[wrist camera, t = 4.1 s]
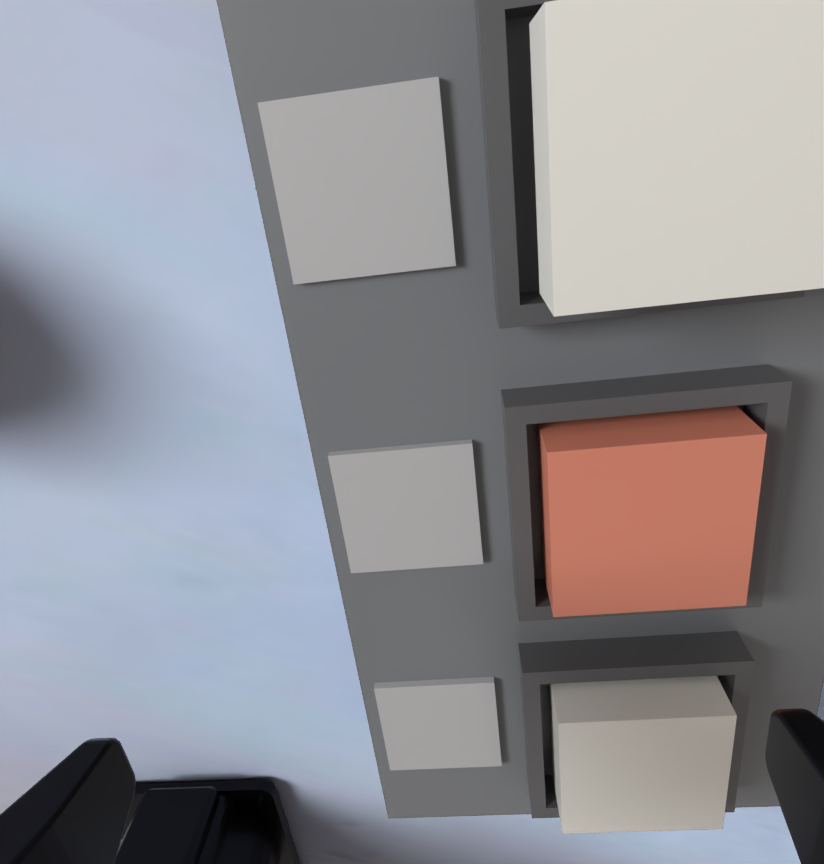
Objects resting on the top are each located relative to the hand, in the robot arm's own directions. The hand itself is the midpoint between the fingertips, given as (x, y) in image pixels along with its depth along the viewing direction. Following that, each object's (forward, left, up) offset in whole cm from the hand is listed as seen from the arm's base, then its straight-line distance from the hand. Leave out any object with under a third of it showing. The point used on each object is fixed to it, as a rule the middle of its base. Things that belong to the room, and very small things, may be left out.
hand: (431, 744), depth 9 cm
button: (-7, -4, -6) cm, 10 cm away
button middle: (0, -4, -6) cm, 8 cm away
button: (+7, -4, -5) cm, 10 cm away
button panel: (0, -3, -9) cm, 10 cm away
